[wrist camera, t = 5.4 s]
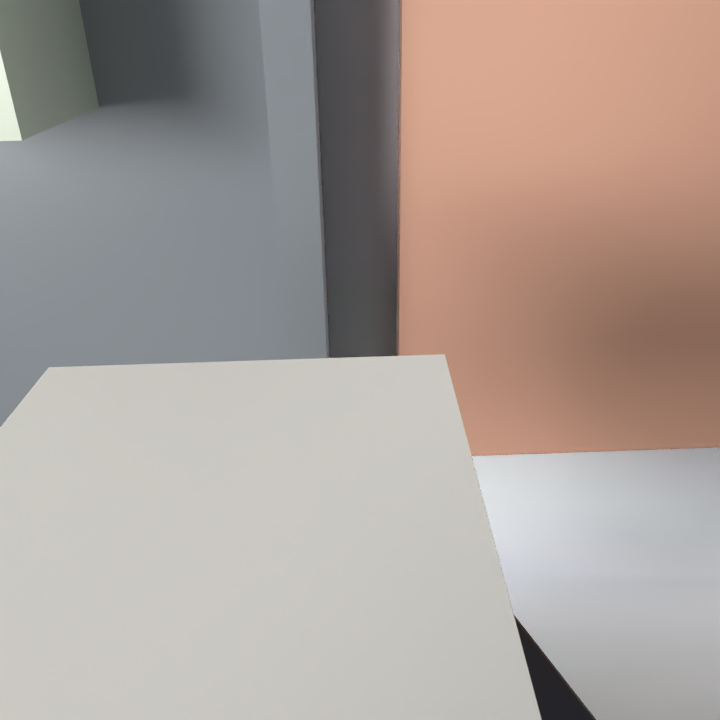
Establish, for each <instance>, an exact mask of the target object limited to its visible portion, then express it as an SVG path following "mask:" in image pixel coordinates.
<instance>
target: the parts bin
mask: <svg viewBox="0 0 720 720" xmlns="http://www.w3.org/2000/svg"><path fill="white" fill-rule="evenodd" d="M79 3H80V9H81V14H82V19H83V24H84V30H85V35H86V40H87V46H88V51H89V56H90V62H91V67H92V72H93V78H94V83H95V88H96V94H97V99H98V104H99V107H98V108H96V109H94V110H92V111H89V112H87V113H85V114H82V115H80V116H78V117H75V118H73V119H71V120H68V121H66V122H64V123H61V124H59V125H57V126H54V127H52V128H50V129H48V130H45V131H43V132H41V133H38V134H36V135H34V136H31V137H29V138H27V139H24V140H22V141H0V427H1V426H2V425H3V423H4V422H5V421H6V420H7V418H8V417H9V416H10V415H11V413H12V412H13V411H14V410H15V408H16V407H17V406H18V405H19V403H20V402H21V401H22V400H23V399H24V397H25V396H26V395H27V394H28V392H29V391H30V390H31V389H32V387H33V386H34V385H35V384H36V382H37V381H38V380H39V379H40V377H41V376H42V375H43V374H44V373H45V371H46V370H47V369H48V368H49V367H71V366H102V365H132V364H163V363H194V362H224V361H255V360H285V359H316V358H330V347H329V324H328V302H327V279H326V257H325V234H324V212H323V189H322V167H321V145H320V122H319V100H318V77H317V55H316V32H315V10H314V0H79Z"/></svg>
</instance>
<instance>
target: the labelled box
mask: <svg viewBox="0 0 720 720" xmlns="http://www.w3.org/2000/svg"><path fill="white" fill-rule="evenodd" d="M0 720H542V719H541V716H540V712H539V708H538V704H537V701H536V697H535V693H534V689H533V686H532V682H531V678H530V674H529V670H528V667H527V663H526V659H525V655H524V652H523V648H522V644H521V640H520V636H519V633H518V629H517V625H516V621H515V618H514V614H513V610H512V606H511V603H510V599H509V595H508V591H507V587H506V584H505V580H504V576H503V572H502V569H501V565H500V561H499V557H498V553H497V550H496V546H495V542H494V538H493V535H492V531H491V527H490V523H489V520H488V516H487V512H486V508H485V504H484V501H483V497H482V493H481V489H480V486H479V482H478V478H477V474H476V470H475V467H474V463H473V459H472V455H471V452H470V448H469V444H468V440H467V437H466V433H465V429H464V425H463V421H462V418H461V414H460V410H459V406H458V403H457V399H456V395H455V391H454V387H453V384H452V380H451V376H450V372H449V369H448V365H447V361H446V357H445V354H438V355H407V356H377V357H346V358H316V359H285V360H255V361H224V362H194V363H163V364H132V365H102V366H71V367H49V368H48V369H47V370H46V371H45V373H44V374H43V375H42V376H41V377H40V379H39V380H38V381H37V382H36V384H35V385H34V386H33V387H32V389H31V390H30V391H29V392H28V394H27V395H26V396H25V397H24V399H23V400H22V401H21V402H20V403H19V405H18V406H17V407H16V408H15V410H14V411H13V412H12V413H11V415H10V416H9V417H8V418H7V420H6V421H5V422H4V423H3V425H2V426H1V427H0Z"/></svg>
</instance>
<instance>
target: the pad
mask: <svg viewBox="0 0 720 720" xmlns="http://www.w3.org/2000/svg"><path fill="white" fill-rule="evenodd" d="M438 354H445V357H446V361H447V365H448V369H449V372H450V376H451V380H452V384H453V387H454V391H455V395H456V399H457V403H458V406H459V410H460V414H461V418H462V421H463V425H464V429H465V433H466V437H467V440H468V444H469V448H470V452H471V455H472V456H485V455H513V454H541V453H570V452H598V451H627V450H655V449H684V448H712V447H720V0H399V93H398V225H397V356H407V355H438Z"/></svg>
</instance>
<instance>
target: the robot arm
mask: <svg viewBox="0 0 720 720" xmlns="http://www.w3.org/2000/svg"><path fill="white" fill-rule="evenodd" d="M514 618H515V621H516V625H517V629H518V633H519V636H520V640H521V644H522V648H523V652H524V655H525V659H526V663H527V667H528V670H529V674H530V678H531V682H532V686H533V689H534V693H535V697H536V701H537V704H538V708H539V712H540V716H541V719H542V720H596V719H595V718H594V716H593V715H592V714H591V712H590V711H589V710H588V709H587V707H586V706H585V705H584V704H583V702H582V701H581V700H580V698H579V697H578V696H577V695H576V693H575V692H574V691H573V690H572V688H571V687H570V686H569V684H568V683H567V682H566V681H565V679H564V678H563V677H562V675H561V674H560V673H559V672H558V670H557V669H556V668H555V667H554V665H553V664H552V663H551V661H550V660H549V659H548V658H547V656H546V655H545V654H544V653H543V651H542V650H541V649H540V647H539V646H538V645H537V644H536V642H535V641H534V640H533V639H532V637H531V636H530V635H529V633H528V632H527V631H526V630H525V628H524V627H523V626H522V625H521V623H520V622H519V621H518V619H517V618H516V617H515V616H514Z"/></svg>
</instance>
